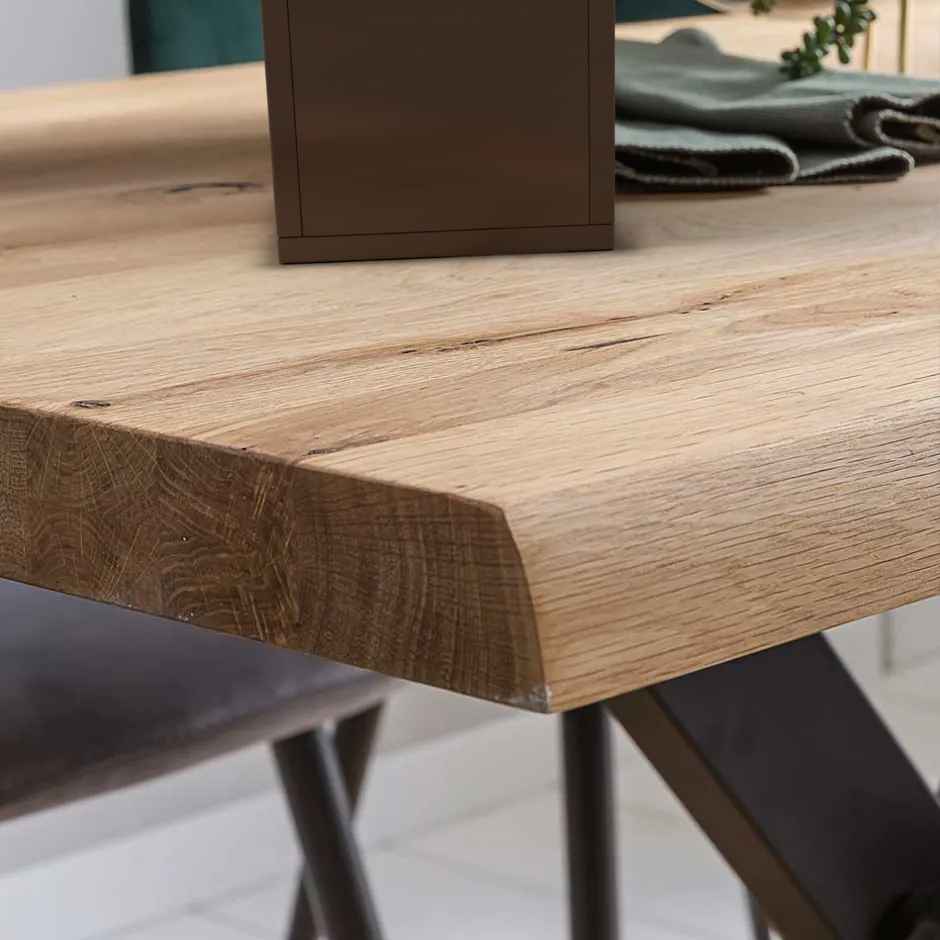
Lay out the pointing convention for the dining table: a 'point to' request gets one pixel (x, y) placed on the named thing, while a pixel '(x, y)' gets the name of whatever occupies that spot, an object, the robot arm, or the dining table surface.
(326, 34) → the cabinet
